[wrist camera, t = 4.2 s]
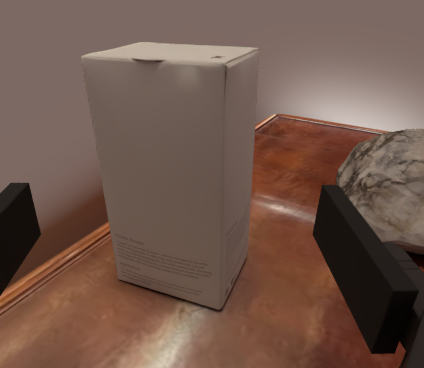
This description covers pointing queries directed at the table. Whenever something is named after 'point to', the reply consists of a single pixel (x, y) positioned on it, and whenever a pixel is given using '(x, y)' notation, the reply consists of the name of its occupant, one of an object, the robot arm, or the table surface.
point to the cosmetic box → (176, 162)
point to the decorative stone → (389, 186)
